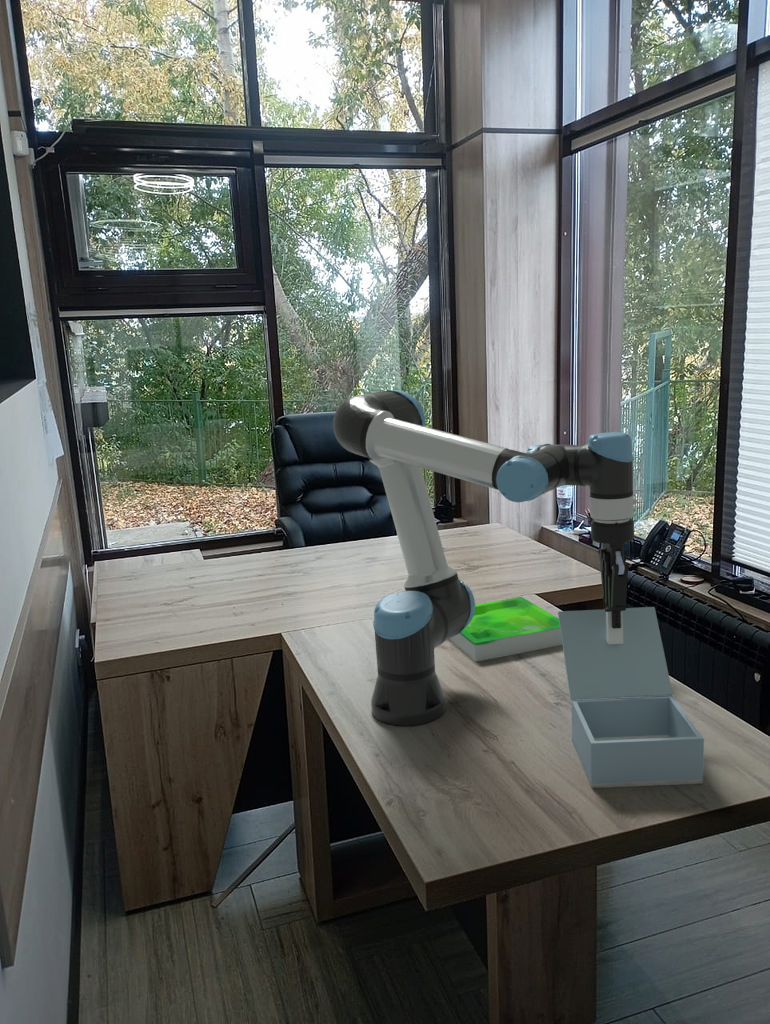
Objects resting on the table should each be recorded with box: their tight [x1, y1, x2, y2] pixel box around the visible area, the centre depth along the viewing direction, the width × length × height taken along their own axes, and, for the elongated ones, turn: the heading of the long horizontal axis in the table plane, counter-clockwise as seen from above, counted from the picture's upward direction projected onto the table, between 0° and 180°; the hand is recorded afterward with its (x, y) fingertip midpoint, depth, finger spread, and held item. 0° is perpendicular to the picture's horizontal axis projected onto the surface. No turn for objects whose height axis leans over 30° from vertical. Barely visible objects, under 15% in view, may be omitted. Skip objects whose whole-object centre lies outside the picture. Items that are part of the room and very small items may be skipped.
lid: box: [557, 606, 673, 701], centre depth 151 cm, size 18×17×1 cm
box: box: [571, 695, 705, 789], centre depth 139 cm, size 18×16×8 cm
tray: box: [448, 596, 563, 662], centre depth 202 cm, size 25×25×5 cm
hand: (614, 642), depth 151 cm, fingers closed
